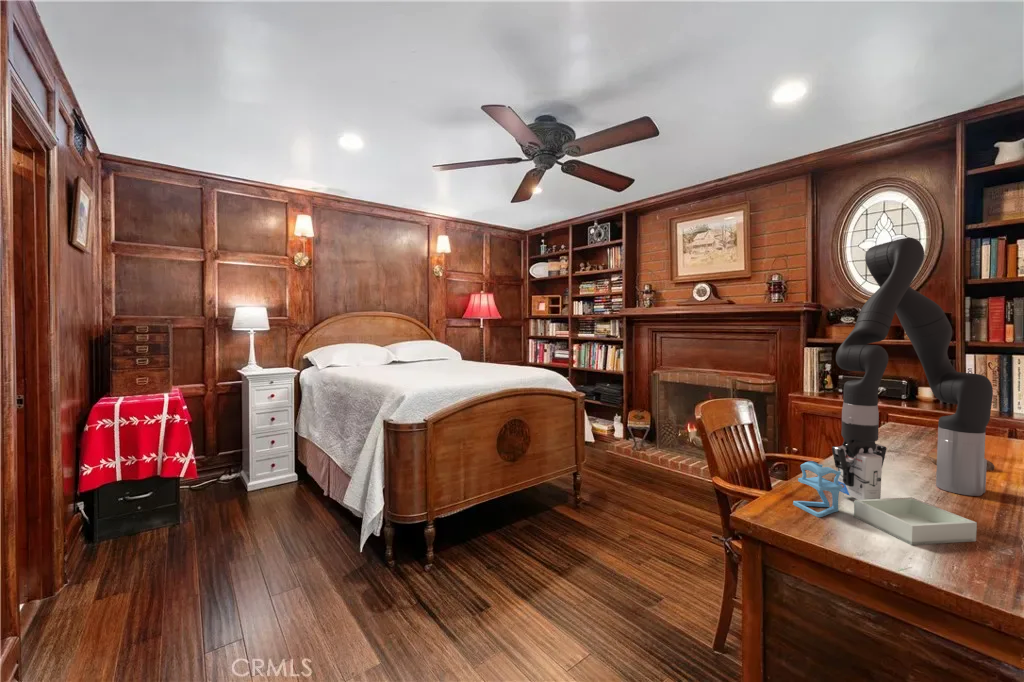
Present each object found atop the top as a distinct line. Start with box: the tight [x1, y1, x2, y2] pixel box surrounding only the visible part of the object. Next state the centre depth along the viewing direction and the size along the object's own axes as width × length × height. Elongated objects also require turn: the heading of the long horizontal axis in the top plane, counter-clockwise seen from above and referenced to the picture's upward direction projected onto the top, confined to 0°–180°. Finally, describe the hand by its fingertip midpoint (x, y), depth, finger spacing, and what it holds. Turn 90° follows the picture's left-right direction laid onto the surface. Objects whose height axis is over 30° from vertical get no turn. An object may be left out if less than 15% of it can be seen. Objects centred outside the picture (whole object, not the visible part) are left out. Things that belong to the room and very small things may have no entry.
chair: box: [792, 460, 843, 518], centre depth 109 cm, size 8×8×12 cm
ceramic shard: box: [928, 447, 996, 471], centre depth 146 cm, size 15×6×15 cm
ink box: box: [837, 453, 883, 500], centre depth 114 cm, size 9×5×12 cm, turn 5°
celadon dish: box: [853, 496, 978, 546], centre depth 99 cm, size 16×14×4 cm
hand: (858, 484), depth 114 cm, fingers closed on ink box, 5 cm apart
